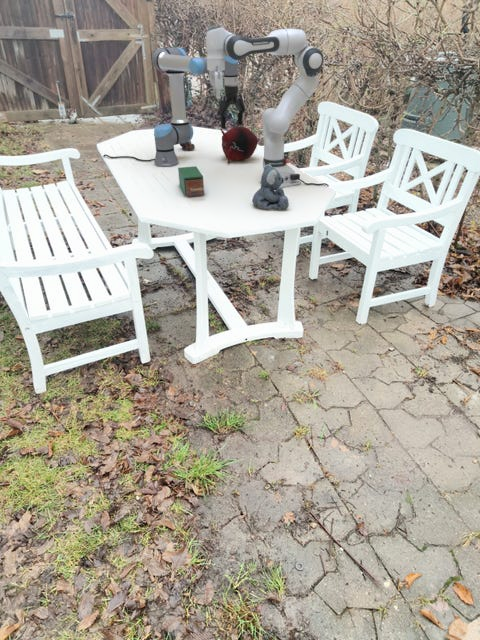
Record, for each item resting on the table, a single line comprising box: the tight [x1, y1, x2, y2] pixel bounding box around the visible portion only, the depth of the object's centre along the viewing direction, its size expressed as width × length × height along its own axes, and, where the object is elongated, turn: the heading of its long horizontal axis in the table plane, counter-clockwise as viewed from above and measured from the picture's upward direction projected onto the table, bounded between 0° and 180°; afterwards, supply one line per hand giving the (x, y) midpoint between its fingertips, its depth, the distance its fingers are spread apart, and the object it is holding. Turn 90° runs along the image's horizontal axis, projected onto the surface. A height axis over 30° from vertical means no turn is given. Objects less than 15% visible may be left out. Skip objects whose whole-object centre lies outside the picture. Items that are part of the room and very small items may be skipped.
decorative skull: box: [220, 126, 259, 165], centre depth 296 cm, size 21×24×25 cm
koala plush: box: [251, 164, 290, 211], centre depth 224 cm, size 17×18×20 cm
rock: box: [179, 139, 196, 151], centre depth 322 cm, size 12×9×10 cm
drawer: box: [186, 178, 205, 197], centre depth 243 cm, size 24×9×8 cm, turn 15°
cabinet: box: [177, 165, 205, 197], centre depth 248 cm, size 19×10×10 cm, turn 15°
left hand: (231, 126), depth 259 cm, fingers open, 13 cm apart
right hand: (216, 97), depth 227 cm, fingers open, 8 cm apart
